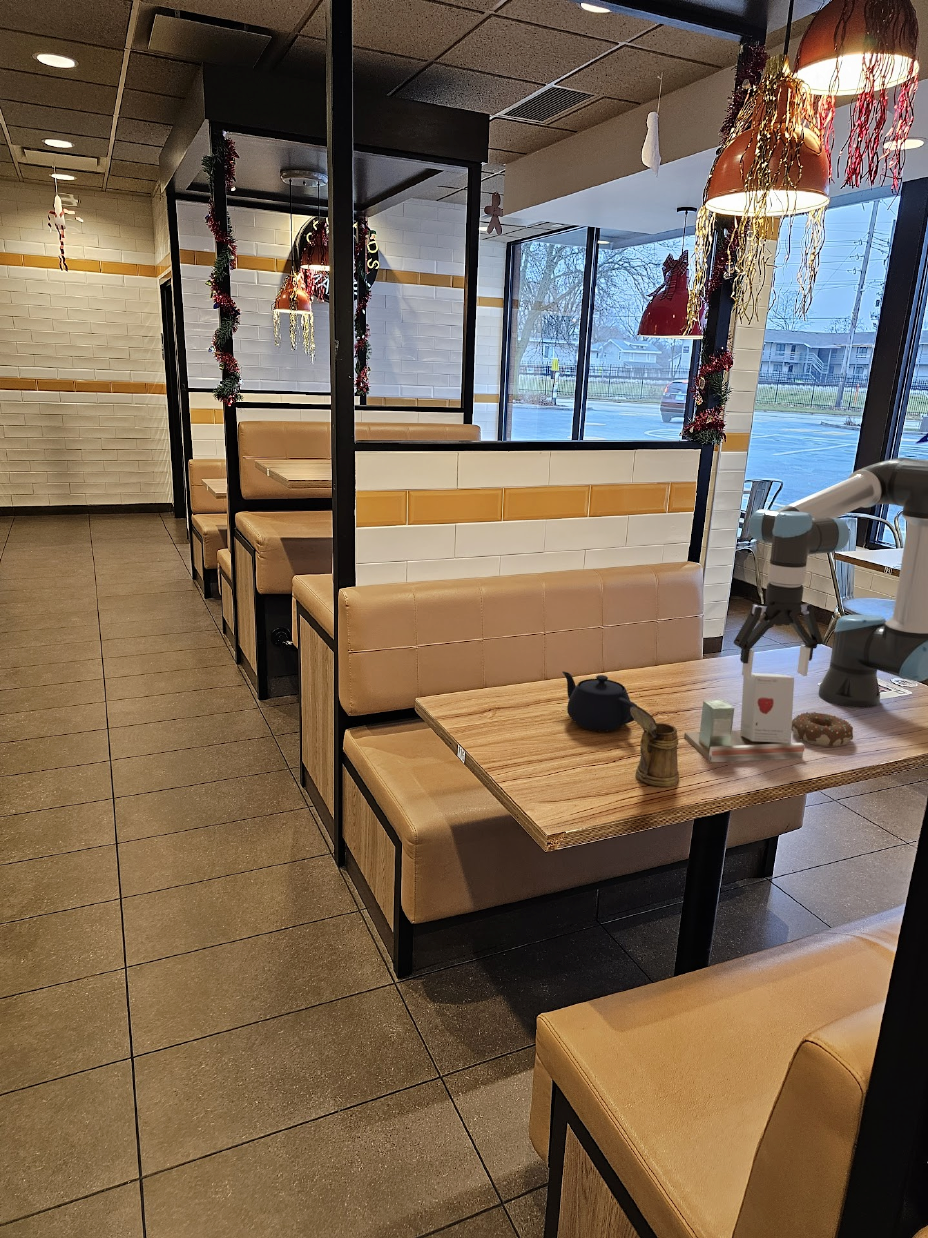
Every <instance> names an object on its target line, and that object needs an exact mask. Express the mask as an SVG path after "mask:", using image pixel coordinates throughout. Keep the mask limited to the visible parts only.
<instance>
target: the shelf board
mask: <svg viewBox="0 0 928 1238" xmlns="http://www.w3.org/2000/svg"><path fill="white" fill-rule="evenodd" d="M740 730H741V729H738V730H737V729H735V730H732V733H731V741H730V746H715V747H710V751H708V750H707V749H706V748H705V747H704V746H703V745H702V744H701V743H700V742H699V736H700V731H693V732H692V731H691V732H689V731H688V732H684V733H683V738H684V739H686V741H687V742H688V743H689V744H691V746H693V747H694V748H695V749H696V750H697V751H698V752H699V753H700V754H701V755H702V756H704V757H705V759H707V760H708V761H709V762H710V763H723V762H725V763H726V762H727V763H728V762H746V761H749V762H750V761H765V760H766V761H767V760H786V759H787V760H788V759H802V758H803V757H804V752H805V749H806V747H805V744H804V743H803V742H791V743H778V742H758V741H751V740H749V739H747V738H745V737H743V736H741V735H740ZM803 759H804V758H803Z"/></svg>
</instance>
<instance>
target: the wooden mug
mask: <svg viewBox="0 0 928 1238" xmlns="http://www.w3.org/2000/svg"><path fill="white" fill-rule="evenodd" d="M630 711H631V715H632V717H633V718H634V720H633V721H635V722H636V724H637V725H639V727H641V728H642V730H643V732H642V735H641V740H640V745H639V748H640V749H639V750H640V757H639V762H638V765H637V766H636V769H635V777H636V779H638V780H639V781H640V782H642V783H644V784H646V785H649V786H652V787H659V788H667V787H668V788H669V787H672V786H675V785H677V784H678V782H679V781H680V772H679V765H678V745H679V736H678V730H677V728H676V727H675V726H674V725H671V724H669V723H665V722H656V720H655V719H654V717H653V716H652V715H651V714H650V713H649V712H647V710H645V709H644V708H642V707H640V706H639V705H637V706H632V707H631V708H630Z"/></svg>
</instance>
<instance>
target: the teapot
mask: <svg viewBox="0 0 928 1238" xmlns="http://www.w3.org/2000/svg"><path fill="white" fill-rule="evenodd" d="M562 674H563V675H564V677H565V679H566V684H567V685H566V687H567V688H566V689H567V691H566V692H567V697H568V702H567V706H566V711H567V714H568V716H569V718H570V719H571V720H572V721H573V722H574V723H575V724H576V725H577V726H579V727H581V728H582V729H585V730H589V731H592V732H600V733H601V732H602V733H603V732H605V733H607V732H608V733H609V732H613V731H617V730H621V728H622V727H624V726H625V725H627V724H629V723H632V722H634V721H635V720H634V718H633V717H632V715H631V711H630V708H631V707H632V706H638V705H637V704H636V703H634V702H633V701H631V699H630V696H629V694H628V691H627V689H626V687H625V685H623V684H622V683H620V682H617V681H614V680H611V679H609V677H608V676H607V675H603V674H602V675H601V674H598V675H596V676H595V678H588V679H584V680H580V681H579V682H578V683H577V684H575V680H574V677H573V676H572V674H571V673H570V672H568V671H562Z"/></svg>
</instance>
